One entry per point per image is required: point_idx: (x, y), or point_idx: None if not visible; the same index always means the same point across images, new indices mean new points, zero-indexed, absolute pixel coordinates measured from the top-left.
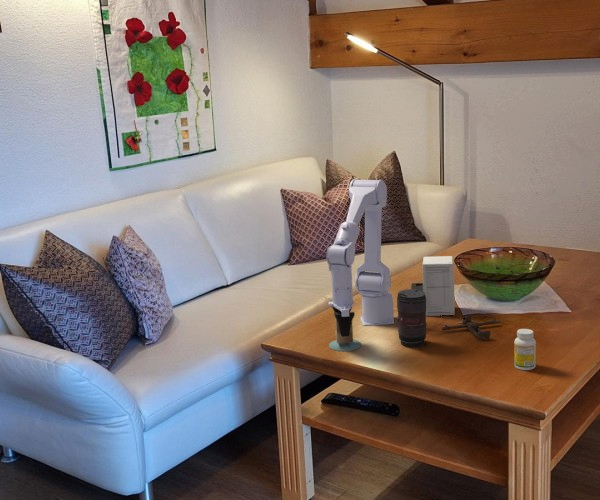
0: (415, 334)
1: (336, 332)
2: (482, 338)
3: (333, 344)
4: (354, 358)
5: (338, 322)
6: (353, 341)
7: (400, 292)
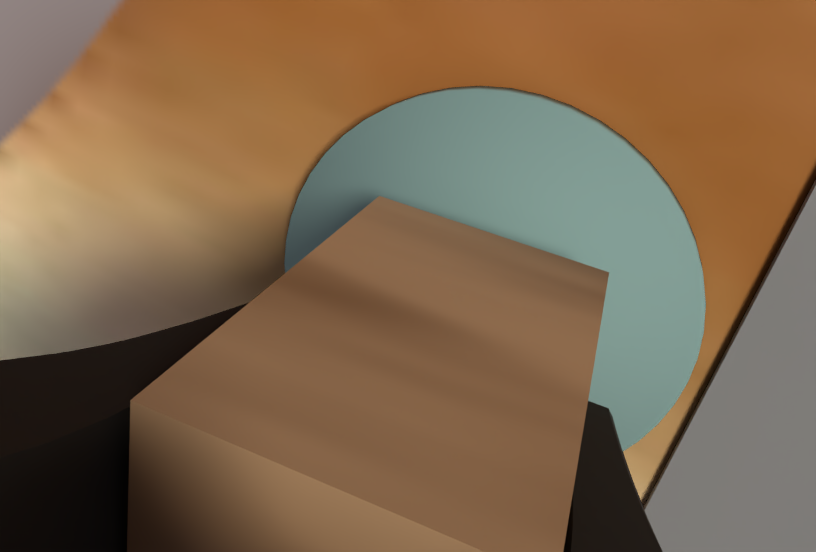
0: None
1: (418, 282)
2: None
3: (541, 174)
4: (104, 222)
5: (7, 363)
6: None
7: None
